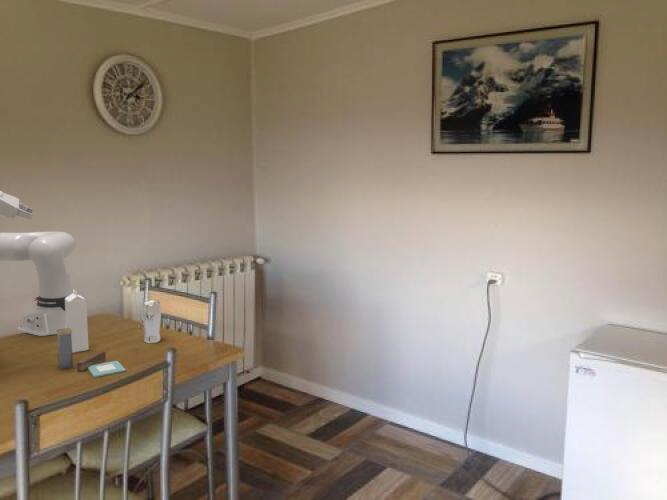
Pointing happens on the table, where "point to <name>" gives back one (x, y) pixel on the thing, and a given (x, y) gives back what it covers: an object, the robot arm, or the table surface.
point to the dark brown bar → (91, 361)
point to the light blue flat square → (106, 369)
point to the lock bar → (65, 348)
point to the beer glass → (151, 321)
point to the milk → (77, 321)
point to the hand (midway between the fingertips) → (32, 214)
